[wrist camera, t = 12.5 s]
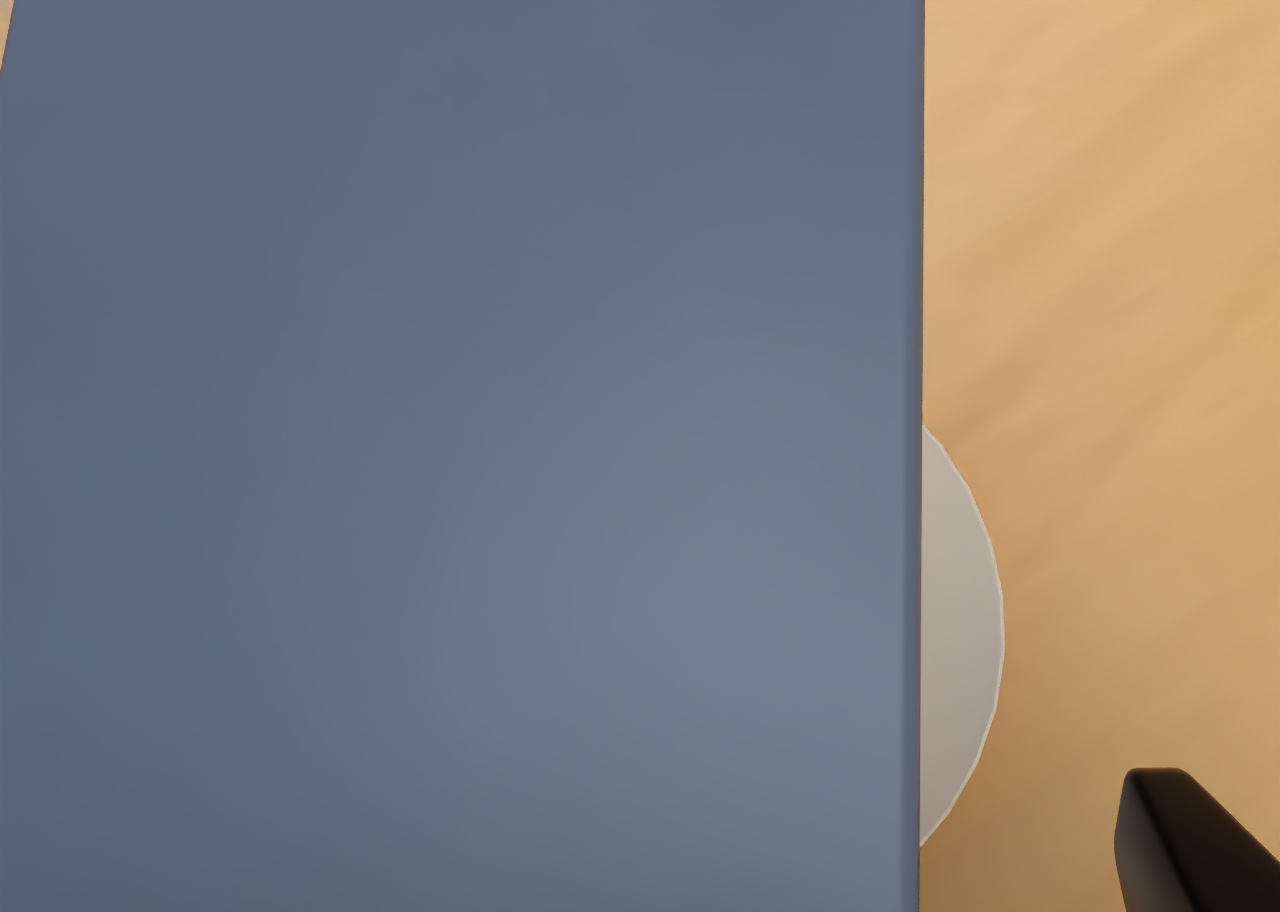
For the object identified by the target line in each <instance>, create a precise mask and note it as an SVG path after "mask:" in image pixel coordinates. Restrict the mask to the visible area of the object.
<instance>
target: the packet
mask: <svg viewBox="0 0 1280 912" xmlns="http://www.w3.org/2000/svg"><path fill="white" fill-rule="evenodd" d="M924 46H925V0H14V4H13V9H12V14H11V19H10V25H9V30H8V35H7V40H6V45H5V51H4V56H3V61H2V66H1V71H0V912H919V869H920V704H921V540H922V375H923V211H924Z"/></svg>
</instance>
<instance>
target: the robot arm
mask: <svg viewBox="0 0 1280 912" xmlns="http://www.w3.org/2000/svg"><path fill="white" fill-rule="evenodd" d="M1114 850H1115V859H1116V865H1117V870H1118V875H1119V880H1120V884H1121V889H1122V894H1123V898H1124V903H1125V908H1126V912H1280V862H1279V861H1278V860H1277V859H1276V858H1275V857H1274V856H1273V855H1272V854H1271V853H1270V852H1269V851H1268V850H1267V849H1266V848H1265V847H1264V846H1263V845H1262V844H1261V843H1260V842H1258V841H1257V840H1256V839H1255V838H1254V837H1253V836H1252V835H1251V834H1250V833H1249V832H1248V831H1247V830H1246V829H1245V828H1244V827H1243V826H1242V825H1241V824H1240V823H1239V822H1238V821H1237V820H1236V819H1235V818H1234V817H1233V816H1232V815H1231V814H1230V813H1229V812H1228V811H1227V810H1226V809H1225V808H1224V807H1223V806H1222V805H1221V804H1220V803H1219V802H1217V801H1216V800H1215V799H1214V798H1213V797H1212V796H1211V795H1210V794H1209V793H1208V792H1207V791H1206V790H1205V789H1204V788H1203V787H1202V786H1201V785H1200V784H1199V783H1198V782H1197V781H1196V780H1195V779H1194V778H1193V777H1192V776H1191V775H1189V774H1188V773H1187V772H1185V771H1183V770H1181V769H1179V768H1134V769H1131V770H1130V771H1128V773H1127V775H1126V776H1125V779H1124V783H1123V788H1122V794H1121V800H1120V806H1119V811H1118V817H1117V823H1116V829H1115V835H1114Z"/></svg>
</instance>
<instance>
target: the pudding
mask: <svg viewBox="0 0 1280 912" xmlns="http://www.w3.org/2000/svg"><path fill="white" fill-rule="evenodd" d="M1004 657H1005V637H1004V601H1003V593H1002V588H1001V584H1000V579H999V574H998V569H997V565H996V560H995V555H994V550H993V546H992V542H991V539H990V537H989V534H988V532H987V529H986V527H985V524H984V522H983V520H982V517H981V515H980V512H979V510H978V507H977V505H976V502H975V500H974V497H973V495H972V492H971V491H970V489H969V487H968V486H967V484H966V483H965V481H964V479H963V478H962V476H961V475H960V473H959V471H958V470H957V468H956V467H955V465H954V463H953V462H952V460H951V458H950V457H949V455H948V454H947V452H946V450H945V449H944V447H943V446H942V445H941V444H940V442H939V441H938V440H937V439H936V438H935V437H934V436H933V435H932V434H931V432H930V431H929V430H928V429H927V428H926V427H925V426H924V425H923V424H922V540H921V704H920V848H921V846H922V845H923V844H924V843H925V842H926V841H927V839H928V838H929V837H930V836H931V835H932V833H933V832H934V831H935V830H936V829H937V828H938V826H939V825H940V824H941V823H942V822H943V820H944V819H945V818H946V817H947V816H948V815H949V813H950V812H951V810H952V808H953V806H954V805H955V803H956V801H957V799H958V798H959V796H960V794H961V792H962V790H963V789H964V787H965V785H966V783H967V782H968V780H969V778H970V776H971V775H972V773H973V771H974V769H975V768H976V766H977V764H978V761H979V759H980V756H981V753H982V750H983V747H984V744H985V741H986V738H987V735H988V733H989V730H990V727H991V724H992V721H993V718H994V715H995V712H996V709H997V703H998V696H999V690H1000V683H1001V676H1002V670H1003V663H1004Z"/></svg>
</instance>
